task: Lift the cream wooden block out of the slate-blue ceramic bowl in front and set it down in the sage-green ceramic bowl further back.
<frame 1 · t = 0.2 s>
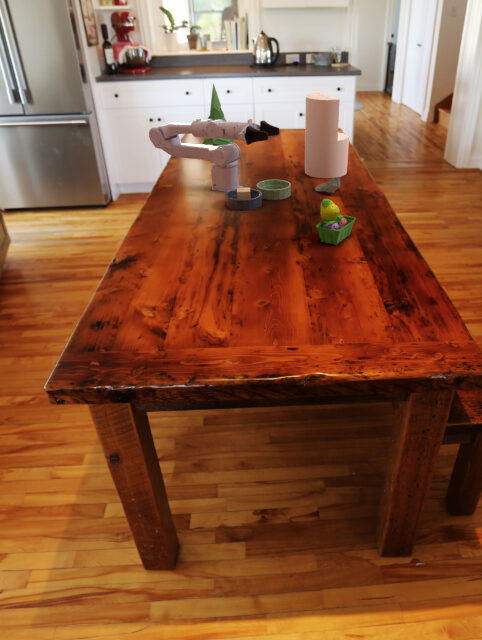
hand: (273, 133, 162), 21 cm above the table, tool horizontal, fingers open, 7 cm apart
cylinder: (325, 172, 199), on the table
slate bowl: (244, 205, 167), on the table
fruit basket: (333, 238, 144), on the table
block: (244, 204, 167), resting on slate bowl
stone: (327, 192, 179), on the table
decorative tree: (219, 158, 219), on the table
sage bowl: (274, 195, 175), on the table
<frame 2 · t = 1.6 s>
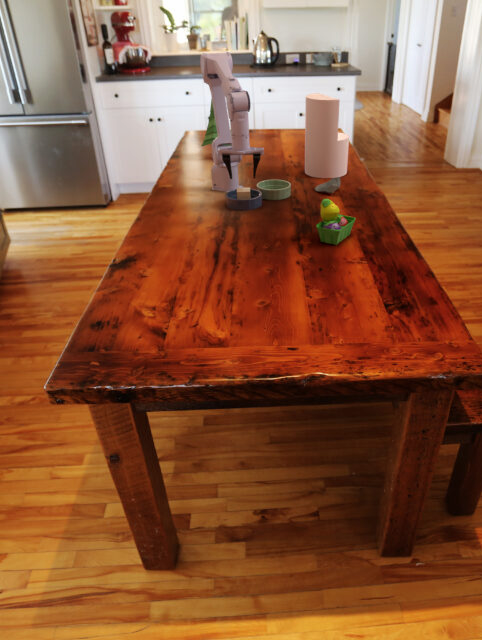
hand: (242, 177, 162), 9 cm above the table, tool pointing down, fingers open, 7 cm apart
nothing on the table moved.
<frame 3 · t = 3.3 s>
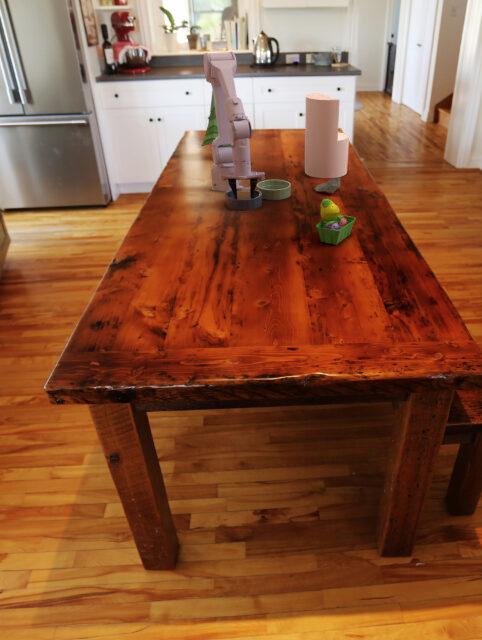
hand: (244, 201, 166), 2 cm above the table, tool pointing down, fingers closed on block, 4 cm apart
block: (244, 204, 167), point 1 cm above the table, touching gripper, slate bowl
everything else where it was.
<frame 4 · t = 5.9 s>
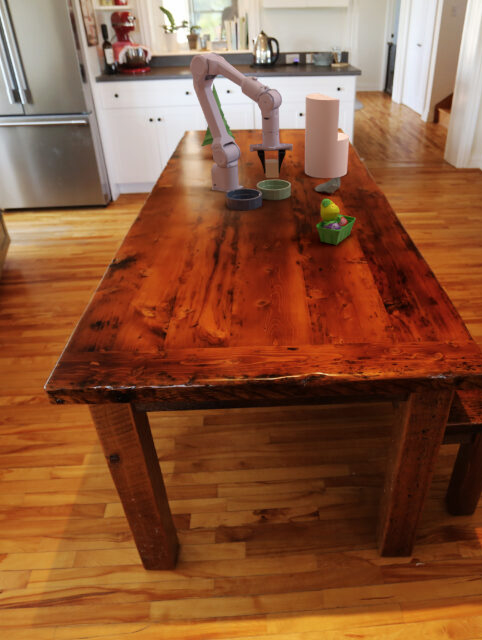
hand: (271, 172, 170), 8 cm above the table, tool pointing down, fingers closed on block, 4 cm apart
block: (272, 175, 170), point 7 cm above the table, touching gripper
everything else where it was.
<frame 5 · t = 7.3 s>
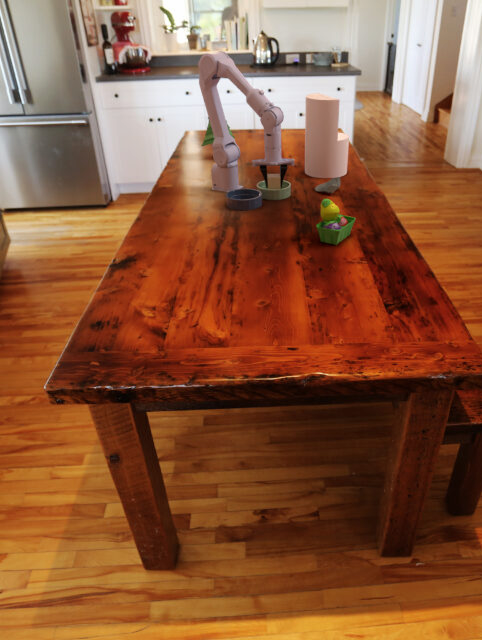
hand: (273, 186, 173), 3 cm above the table, tool pointing down, fingers closed on block, 4 cm apart
block: (274, 189, 174), point 2 cm above the table, touching gripper
everything else where it was.
when the fingers open (2 cm above the table, at t = 8.3 s): block stays where it is, resting on sage bowl.
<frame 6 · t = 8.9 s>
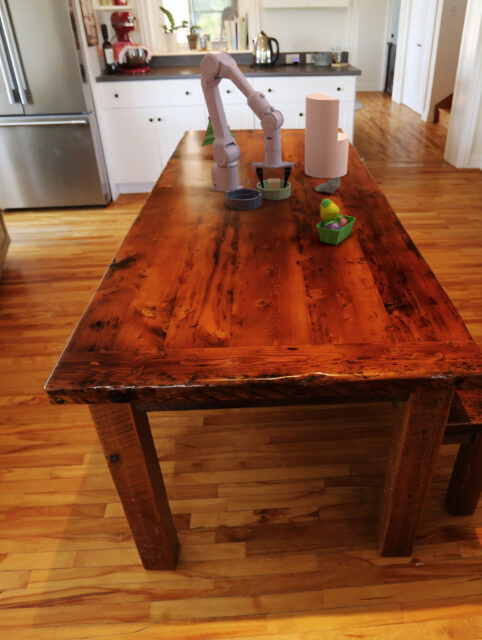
hand: (273, 189, 174), 2 cm above the table, tool pointing down, fingers open, 7 cm apart
block: (274, 194, 175), point 1 cm above the table, touching sage bowl
everything else where it was.
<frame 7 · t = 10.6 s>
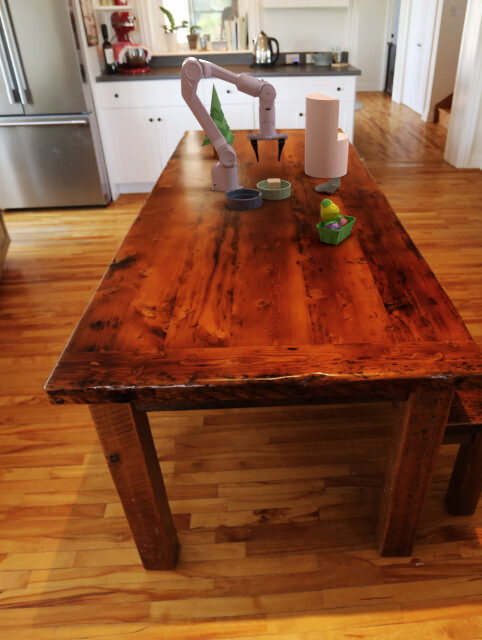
hand: (268, 161, 178), 9 cm above the table, tool pointing down, fingers open, 7 cm apart
nothing on the table moved.
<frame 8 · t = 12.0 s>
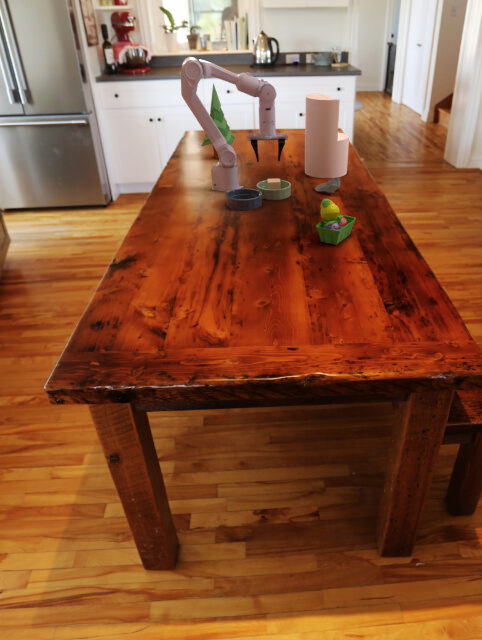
hand: (268, 161, 178), 9 cm above the table, tool pointing down, fingers open, 7 cm apart
nothing on the table moved.
at the end: block inside the target area in the sage bowl (0.1 cm from its centre), point 0.5 cm above the sage bowl's base; the gripper is holding nothing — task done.
